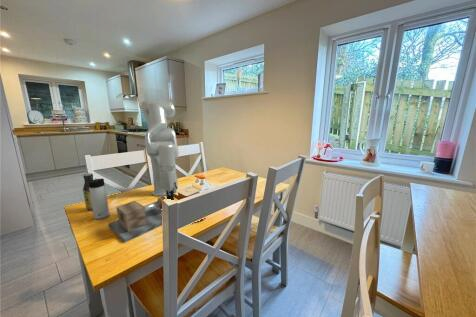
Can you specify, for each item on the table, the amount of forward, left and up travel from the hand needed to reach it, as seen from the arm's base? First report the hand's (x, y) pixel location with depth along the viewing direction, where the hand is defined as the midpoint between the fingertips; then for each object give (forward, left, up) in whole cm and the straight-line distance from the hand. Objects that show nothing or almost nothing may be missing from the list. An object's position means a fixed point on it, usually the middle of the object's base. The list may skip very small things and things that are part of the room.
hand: (170, 201), depth 102 cm
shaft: (+11, 0, -2) cm, 11 cm away
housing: (+15, 0, -6) cm, 16 cm away
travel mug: (+26, -21, -6) cm, 34 cm away
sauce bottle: (+26, -35, -6) cm, 44 cm away
